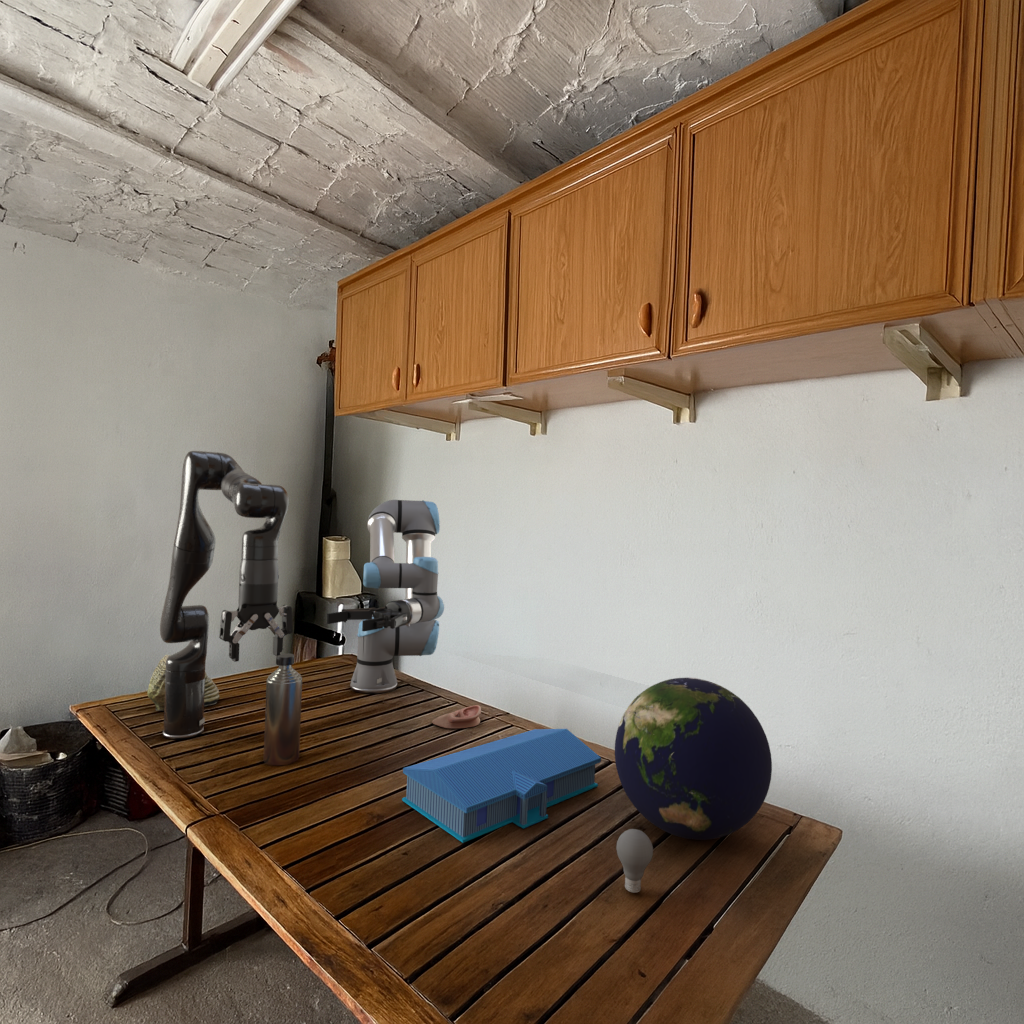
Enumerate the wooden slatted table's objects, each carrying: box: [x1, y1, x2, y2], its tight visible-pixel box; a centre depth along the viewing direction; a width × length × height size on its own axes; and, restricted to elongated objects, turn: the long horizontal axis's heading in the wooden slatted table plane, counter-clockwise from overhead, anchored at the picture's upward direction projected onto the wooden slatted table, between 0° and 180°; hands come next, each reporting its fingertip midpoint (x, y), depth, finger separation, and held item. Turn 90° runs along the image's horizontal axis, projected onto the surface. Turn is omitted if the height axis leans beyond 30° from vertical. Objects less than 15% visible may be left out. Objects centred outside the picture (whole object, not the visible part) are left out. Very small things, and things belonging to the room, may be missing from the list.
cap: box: [275, 653, 295, 667], centre depth 152 cm, size 4×4×2 cm
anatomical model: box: [431, 704, 482, 729], centre depth 181 cm, size 13×4×12 cm
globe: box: [614, 676, 773, 841], centre depth 126 cm, size 30×30×30 cm
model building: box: [401, 728, 602, 844], centre depth 138 cm, size 39×24×10 cm, turn 132°
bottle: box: [263, 665, 303, 767], centre depth 152 cm, size 8×8×24 cm
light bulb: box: [615, 828, 654, 894], centre depth 106 cm, size 6×6×10 cm
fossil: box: [147, 654, 221, 712], centre depth 185 cm, size 9×18×15 cm, turn 132°
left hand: (256, 657), depth 132 cm, fingers open, 8 cm apart
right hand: (345, 622), depth 166 cm, fingers open, 13 cm apart
